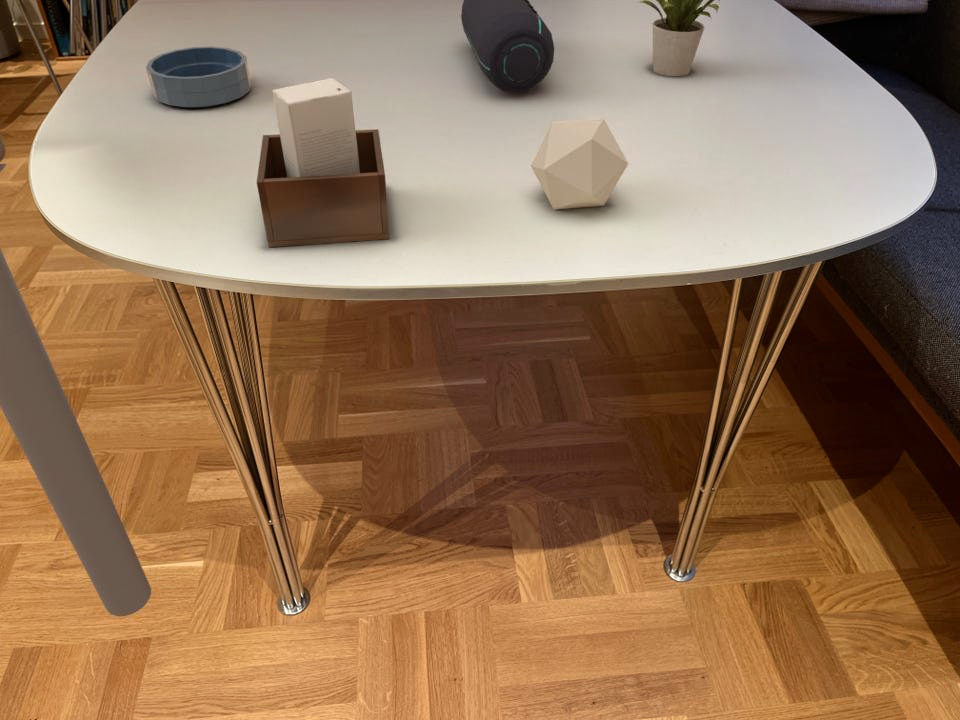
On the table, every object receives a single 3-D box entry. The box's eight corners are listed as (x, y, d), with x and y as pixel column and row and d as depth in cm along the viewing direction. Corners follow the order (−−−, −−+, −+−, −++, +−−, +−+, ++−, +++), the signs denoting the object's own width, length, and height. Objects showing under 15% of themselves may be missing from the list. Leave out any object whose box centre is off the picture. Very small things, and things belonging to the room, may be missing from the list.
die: (606, 185, 83) (558, 105, 80) (658, 176, 75) (607, 87, 72) (552, 232, 81) (500, 153, 78) (599, 229, 73) (544, 140, 70)
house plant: (749, 73, 110) (779, -55, 99) (696, 97, 102) (722, -39, 92) (666, 49, 117) (686, -72, 107) (610, 70, 110) (626, -58, 99)
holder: (268, 247, 71) (256, 182, 67) (273, 196, 79) (262, 134, 75) (389, 239, 73) (385, 174, 68) (382, 189, 80) (378, 129, 76)
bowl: (147, 112, 96) (138, 80, 93) (162, 78, 105) (155, 48, 102) (247, 107, 97) (242, 75, 95) (254, 74, 107) (248, 44, 104)
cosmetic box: (346, 194, 78) (333, 76, 71) (364, 212, 75) (353, 90, 68) (289, 209, 76) (270, 88, 68) (306, 228, 73) (288, 103, 65)
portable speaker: (558, 100, 101) (564, 20, 94) (482, 103, 99) (484, 22, 93) (520, 40, 120) (524, -30, 113) (457, 43, 118) (457, -28, 112)
